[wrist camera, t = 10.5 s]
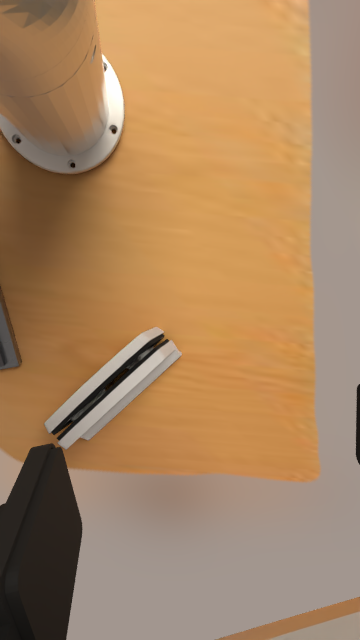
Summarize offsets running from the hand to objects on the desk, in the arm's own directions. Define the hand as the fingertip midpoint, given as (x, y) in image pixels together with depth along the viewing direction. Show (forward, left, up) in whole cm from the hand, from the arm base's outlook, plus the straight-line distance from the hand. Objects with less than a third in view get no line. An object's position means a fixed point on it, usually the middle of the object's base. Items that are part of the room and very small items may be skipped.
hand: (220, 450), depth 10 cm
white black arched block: (+10, -6, -31) cm, 33 cm away
